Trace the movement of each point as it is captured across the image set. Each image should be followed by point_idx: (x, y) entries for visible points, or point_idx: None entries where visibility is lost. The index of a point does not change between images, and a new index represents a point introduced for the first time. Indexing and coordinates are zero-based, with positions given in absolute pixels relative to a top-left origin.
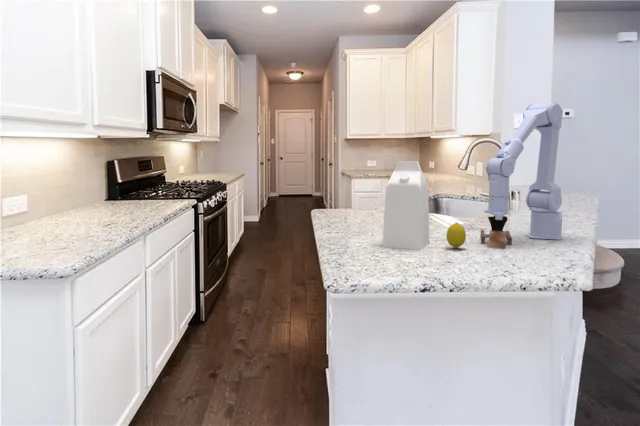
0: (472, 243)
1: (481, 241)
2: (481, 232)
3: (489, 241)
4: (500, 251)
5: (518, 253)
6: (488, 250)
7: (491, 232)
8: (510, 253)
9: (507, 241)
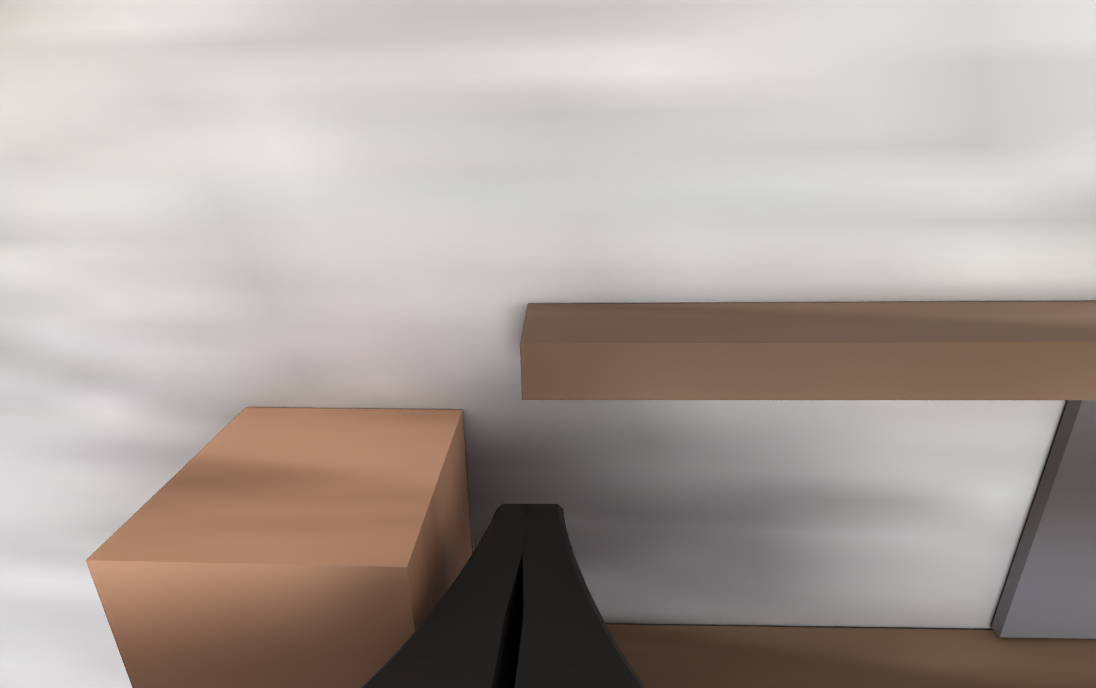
0: (462, 157)
1: (528, 314)
2: (1057, 349)
3: (297, 446)
4: (49, 519)
5: (56, 669)
6: (20, 389)
7: (142, 585)
8: (2, 604)
9: (702, 633)
